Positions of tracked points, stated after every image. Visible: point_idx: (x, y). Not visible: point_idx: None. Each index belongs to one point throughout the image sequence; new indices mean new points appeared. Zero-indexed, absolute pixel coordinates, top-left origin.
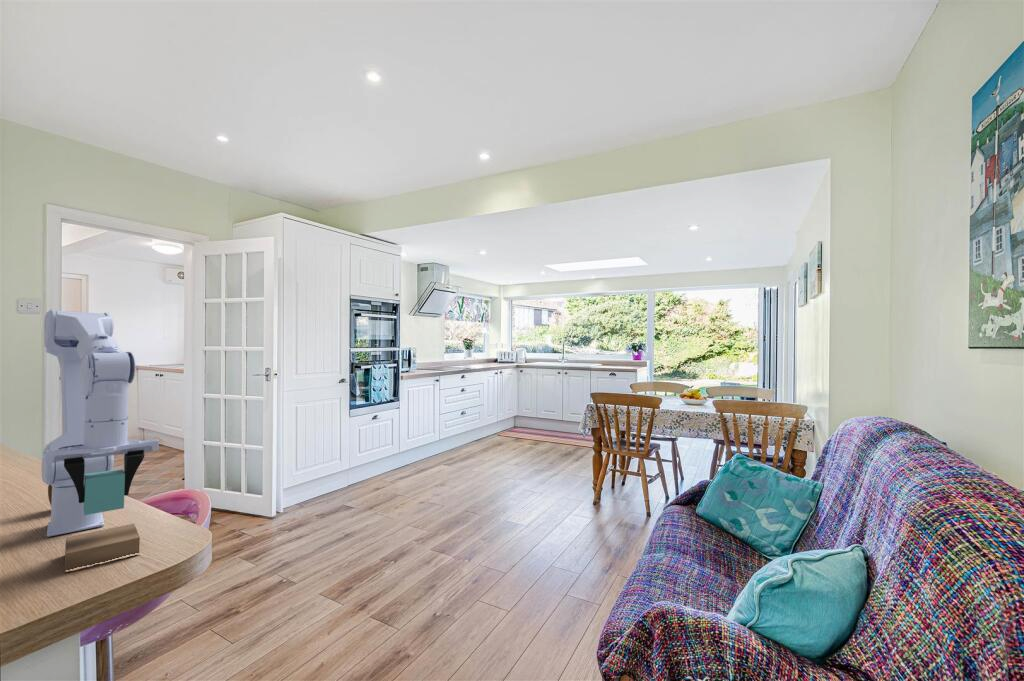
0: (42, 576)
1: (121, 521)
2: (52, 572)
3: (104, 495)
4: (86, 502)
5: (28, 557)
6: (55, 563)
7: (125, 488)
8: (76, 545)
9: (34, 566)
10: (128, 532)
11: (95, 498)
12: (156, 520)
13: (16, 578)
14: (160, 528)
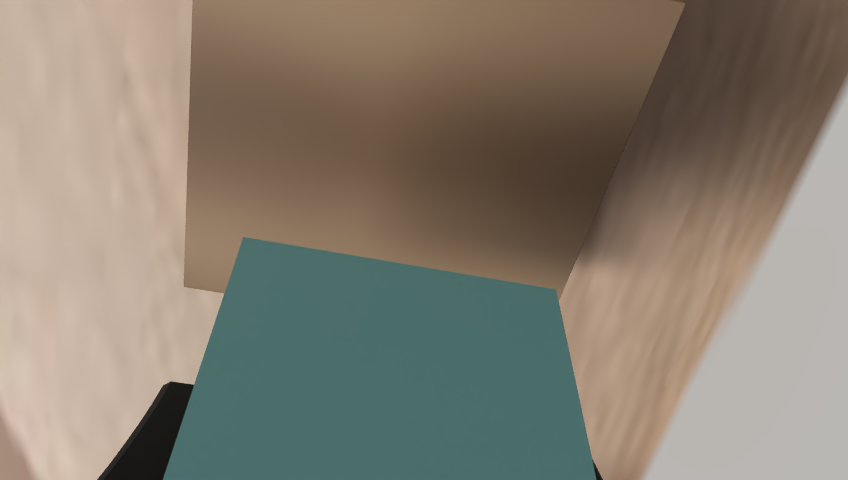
0: (726, 28)
1: None
2: (671, 48)
3: (403, 400)
4: (561, 385)
5: (627, 370)
6: None
7: (171, 446)
8: (567, 137)
9: (670, 230)
10: (246, 120)
11: (486, 398)
12: (70, 417)
13: (795, 124)
14: (58, 284)
